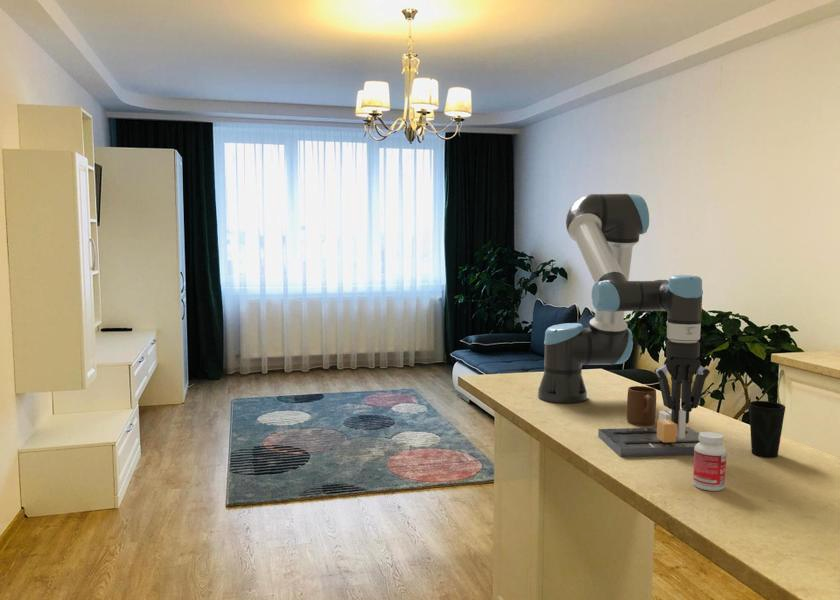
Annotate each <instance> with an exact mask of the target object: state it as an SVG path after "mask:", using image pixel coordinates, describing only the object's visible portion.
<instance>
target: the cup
mask: <svg viewBox="0 0 840 600" xmlns="http://www.w3.org/2000/svg"><path fill="white" fill-rule="evenodd" d="M748 409H749V428H750V430H749V431H750V447H751V454H752V455H754V456H755V457H758V458H759V457H760V458H764V459H775V458H777V457H778V456H779V449H780V445H781V443H780V442H781V438H782V437H781V436H782V433H783V425H784V420H785V412H786V406H785V405H784V404H782V403H780V402H779V403H778V402H776V401H775V402H774V401H769V400H767V401H766V400H753V401H750V402H749V404H748Z"/></svg>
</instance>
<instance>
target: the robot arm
mask: <svg viewBox="0 0 840 600" xmlns="http://www.w3.org/2000/svg"><path fill="white" fill-rule="evenodd" d="M565 225H566V226H565V227H566V230H567V231H566V232H567V233H568V235H569V237H570V238H571V240H573V241H574V242H576V244H577V247H578V248H579V251H580V254H581V256H582V258H583V260H584V262H585V264H586V267H587V269H588V270H589V273H590V275H591V278H592V280H593V282H594V284H593V285H592V289H591V300H592V301H591V303H592V306H593V307H594V309H595V314H594V317H592V318H591V319H590V320H589V325H588V327H584V326H583V324H582V323H577V322H571V323H570V322H567V323H559V324H554V325H551V326H549V327H547V329H546V330H545V332H544V341H543V344H544V351H543V353H544V358H543V360H544V361H543V365H544V366H543V375H542V379H541V381H540V384H539V387H538V390H537V394H538V395H537V397H538V398H539V399H540V400H542V401H546V402H549V403H550V402H551V403H557V404H558V403H559V404H576V403H577V404H578V403H581V402H585V401H587V399H588V397H587V395H588V394H587V393H588V392H587V388H586V384H585V381H584V379H583V373H582V368H583V365H584V366H589V365H591V366H592V365H593V366H595V365H597V366H598V365H599V366H600V365H602V366H604V365H605V366H606V365H608V366H613V365H621V364H624V363H625V362H627V360H628V359H629V358H630V356H631V353H632V351H633V347H634V346H633V345H634V340H633V337H634V335H633V333H632V331H631V329H630V328H628V323H627V321H625V320H624V317H625V312H653V311H654V312H661V311H662V312H667V319H666V323H667V324H666V338H667V339H668V340H667V341H666V343H665V344H666V345H665V346H666V348H665V355H666V357H665V360H664V362H663V365H662V366H660V367H659V368H657V367H656V368H654V373H655V375H656V377H658V383H659V388H660V391H661V393H660V394H661V397H662V398H661V399H662V403H663V406H664V407H666V408H667V409H669V410H670V411H672V413H671V421H672V422H674V423H675V424H676V437H678V438H685V427H686V424H689V423H690V422H689V421H690V413H691V412H692V410H693V409H697V408H698V406H699V402H700V399H701V396H702V393H703V389H704V386H705V381H706V379H707V378H708V376H709V374H710V372H711V371H710V370H709V369H708V368H705V367H703V366H702V365H701V361H700V352H701V351H700V349H701V347H700V346H701V343H700V339H701V329H702V328H701V326H702V325H701V323H702V305H703V294H704V290H703V279H702V278H701V277H700V276H698V275H687V274H683V275H682V274H680V275H679V274H675V275H671V276H670V277H669V278H668V279H655V280H641V281H640V280H629V278H630V271H631V263H632V255H633V247H634V246H635V245H636V244H637V243H639V242H640V241H639V240H640V235H644V234H646V233H647V231H648V229H649V226H650V212H649V208H648V205H647V202H646V200H645V199H644V197H642V195H639V194H632V193H631V194H630V193H604V194H603V193H601V194H598V193H591V194H590V193H589V194H587V195H584V196H582V197H580V198H579V199H576V201H575V202H574V203H573V204H572V206H571V207H570V208H569V209H568V212H567V214H566V219H565ZM668 374H669V375H670V380H671V389H670V385H669V380H668V377H667V376H668ZM695 374H696V375H695ZM694 375H695V378H694V381H693V377H694ZM692 384H693V385H692ZM670 390H671V391H670Z"/></svg>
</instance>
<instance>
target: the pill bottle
mask: <svg viewBox="0 0 840 600" xmlns="http://www.w3.org/2000/svg"><path fill="white" fill-rule="evenodd" d="M698 439H699V441H700V442H699V443H697V444H696V445H695V448H694V455H693V475H692V476H693V477H692V483H693V485H694V486H695V488H698V489H699V490H703V491H704V490H705V491H711V492H718V491H719V492H720V491H722V490H724V488H725V486H726V484H725V483H726V473H727V472H726V470H727V448H726V446H724V445H723V443H724V435H723V434H720V433H717V432H712V431H700V432H699V438H698Z"/></svg>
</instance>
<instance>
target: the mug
mask: <svg viewBox="0 0 840 600" xmlns="http://www.w3.org/2000/svg"><path fill="white" fill-rule="evenodd" d="M626 401H627V402H626V404H627V405H626V410H627V411H626V420H627V422H628V423H630V424H632V425H637V426H652V425H654V424H655V423H656V417H657V416H656V413H657V390H656V389H655V387H654V388H653V387H649V386H643V385H642V386H641V385H635V386H633V385H632V386H629V387H628V388H627V400H626Z"/></svg>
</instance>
